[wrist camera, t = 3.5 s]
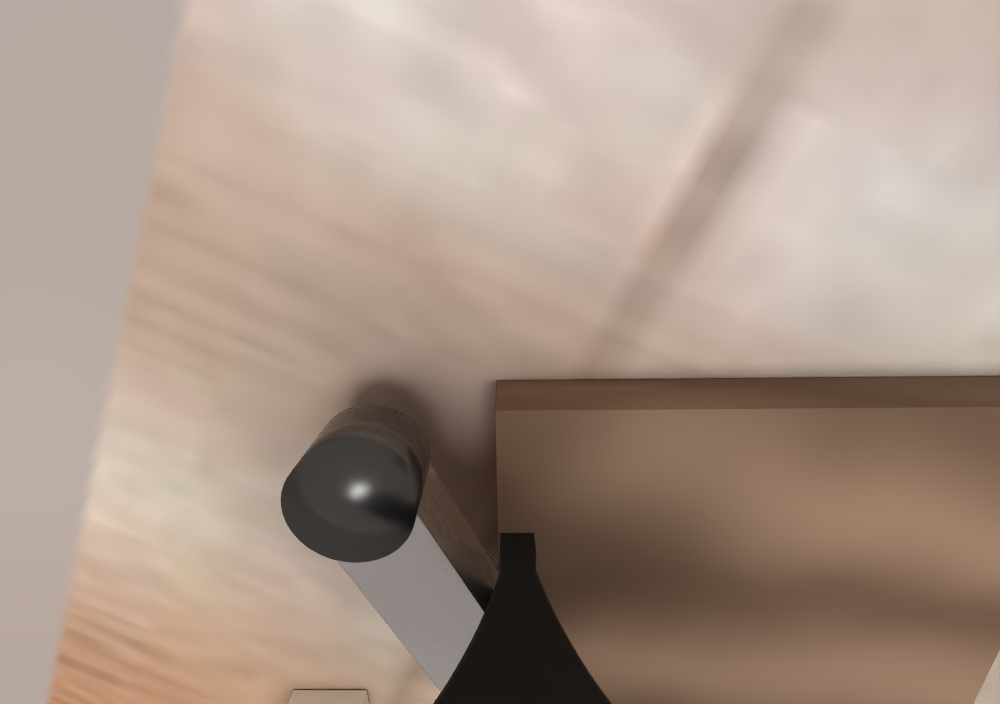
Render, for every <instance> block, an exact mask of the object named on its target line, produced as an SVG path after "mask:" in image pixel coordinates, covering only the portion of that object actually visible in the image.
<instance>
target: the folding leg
mask: <svg viewBox="0 0 1000 704" xmlns="http://www.w3.org/2000/svg"><path fill="white" fill-rule="evenodd" d="M430 461H431V456H430V449H429V445H428V442H427V440H426V438H425V436H424V434H423V433H422V431H421V430H420V429H419V428H418V426H417V425H416V424H415V423H414V422H412V421H411V420H410V419H409V418H407V417H406V416H404V415H403V414H401V413H399V412H397V411H395V410H392V409H389V408H386V407H381V406H374V405H365V406H357V407H353V408H350V409H347V410H345V411H343V412H341V413H339V414H338V415H336V416H335V417H334V418H332V419H331V421H330V422H329V423H328V424H327V425H326V426H325V428H324V429H323V430H322V432H321V433H320V434H319V436H318V437H317V438H316V440H315V441H314V442H313V444H312V445H311V446H310V448H309V449H308V450H307V452H306V453H305V454H304V456H303V457H302V458H301V460H300V461H299V462H298V464H297V465H296V466H295V468H294V469H293V470H292V472H291V473H290V475H289V476H288V477H287V479H286V481H285V483H284V486H283V489H282V493H281V508H282V513H283V516H284V518H285V521H286V523H287V525H288V527H289V528H290V530H291V531H292V532H293V534H294V535H295V536H296V537H297V538H298V539H299V540H300V541H301V542H302V543H303V544H304V545H305V546H307V547H308V548H310V549H311V550H313V551H315V552H316V553H318V554H320V555H323V556H325V557H327V558H331V559H334V560H337V561H338V562H339V563H340V565H341V566H342V567H343V568H344V570H345V571H346V572H347V574H348V575H349V576H350V577H351V579H352V580H353V581H354V582H355V584H356V585H357V586H358V587H359V589H360V590H361V591H362V593H363V594H364V595H365V596H366V598H367V599H368V600H369V601H370V603H371V604H372V605H373V607H374V608H375V609H376V610H377V612H378V613H379V614H380V615H381V617H382V618H383V619H384V621H385V622H386V623H387V624H388V626H389V627H390V628H391V629H392V631H393V632H394V633H395V634H396V636H397V637H398V638H399V640H400V641H401V642H402V643H403V645H404V646H405V647H406V648H407V650H408V651H409V652H410V654H411V655H412V656H413V657H414V659H415V660H416V661H417V662H418V664H419V665H420V666H421V668H422V669H423V670H424V671H425V673H426V674H427V675H428V676H429V678H430V679H431V680H432V681H433V683H434V684H435V685H436V687H437V688H438V689H439V690H440V692H442V690H443V688H444V687H445V685H446V684H447V682H448V680H449V679H450V677H451V675H452V674H453V672H454V670H455V669H456V667H457V665H458V664H459V662H460V660H461V658H462V657H463V655H464V653H465V651H466V649H467V647H468V646H469V644H470V642H471V640H472V638H473V636H474V634H475V632H476V630H477V628H478V626H479V624H480V621H481V619H482V617H483V614H484V612H485V610H486V608H487V605H488V603H489V601H490V598H491V596H492V593H493V590H494V588H495V585H496V582H497V579H498V576H499V574H500V572H499V570H498V569H497V567H496V565H495V564H494V562H493V561H492V559H491V558H490V556H489V555H488V553H487V552H486V550H485V548H484V547H483V545H482V544H481V542H480V541H479V539H478V538H477V536H476V534H475V533H474V531H473V530H472V528H471V527H470V525H469V524H468V522H467V521H466V519H465V517H464V516H463V514H462V513H461V511H460V510H459V508H458V507H457V505H456V504H455V502H454V500H453V499H452V497H451V496H450V494H449V493H448V491H447V490H446V488H445V486H444V485H443V483H442V482H441V480H440V479H439V477H438V476H437V474H436V473H435V471H434V469H433V468H432V466H431V465H430Z"/></svg>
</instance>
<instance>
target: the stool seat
mask: <svg viewBox="0 0 1000 704" xmlns="http://www.w3.org/2000/svg"><path fill="white" fill-rule="evenodd" d="M495 415H496V464H497V513H498V562H499V572H500V533H534V538H535V546H536V572H537V574H538V577H539V579H540V582H541V584H542V586H543V588H544V591H545V593H546V595H547V598H548V600H549V602H550V604H551V606H552V608H553V610H554V612H555V614H556V616H557V618H558V620H559V622H560V624H561V626H562V628H563V630H564V631H565V633H566V635H567V637H568V639H569V640H570V642H571V644H572V645H573V647H574V649H575V650H576V652H577V654H578V655H579V657H580V659H581V660H582V662H583V663H584V665H585V666H586V668H587V669H588V671H589V673H590V674H591V676H592V677H593V679H594V680H595V682H596V683H597V684H598V686H599V687H600V688H601V690H602V691H603V693H604V694H605V695H606V697H607V698H608V699H609V701H610V702H611V704H973V703H974V701H975V699H976V697H977V695H978V693H979V691H980V689H981V687H982V685H983V683H984V681H985V679H986V676H987V674H988V672H989V670H990V668H991V666H992V664H993V662H994V660H995V658H996V656H997V654H998V652H999V650H1000V376H955V377H841V378H727V379H613V380H499V381H497V388H496V409H495Z"/></svg>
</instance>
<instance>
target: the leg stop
mask: <svg viewBox="0 0 1000 704" xmlns="http://www.w3.org/2000/svg"><path fill="white" fill-rule="evenodd" d="M288 704H369V700H368V694H367V690H293V693H292V695H291V697H290V700H289V702H288Z"/></svg>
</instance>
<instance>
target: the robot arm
mask: <svg viewBox="0 0 1000 704" xmlns="http://www.w3.org/2000/svg"><path fill="white" fill-rule="evenodd" d="M433 704H611V702H610V701H609V699H608V698H607V697H606V695H605V694H604V693H603V691H602V690H601V688H600V687H599V686H598V684H597V683H596V682H595V680H594V679H593V677H592V676H591V674H590V673H589V671H588V669H587V668H586V666H585V665H584V663H583V662H582V660H581V659H580V657H579V655H578V654H577V652H576V650H575V649H574V647H573V645H572V644H571V642H570V640H569V639H568V637H567V635H566V633H565V631H564V630H563V628H562V626H561V624H560V622H559V620H558V618H557V616H556V614H555V612H554V610H553V608H552V606H551V604H550V602H549V600H548V598H547V595H546V593H545V591H544V588H543V586H542V584H541V582H540V579H539V577H538V574H537V572H536V546H535V538H534V533H500V574H499V576H498V579H497V582H496V585H495V588H494V590H493V593H492V596H491V598H490V601H489V603H488V605H487V608H486V610H485V612H484V614H483V617H482V619H481V621H480V624H479V626H478V628H477V630H476V632H475V634H474V636H473V638H472V640H471V642H470V644H469V646H468V647H467V649H466V651H465V653H464V655H463V657H462V658H461V660H460V662H459V664H458V665H457V667H456V669H455V670H454V672H453V674H452V675H451V677H450V679H449V680H448V682H447V684H446V685H445V687H444V688H443V690H442V692H441V693H440V695H439V696H438V698H437V699H436V700H435V702H434V703H433Z"/></svg>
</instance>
